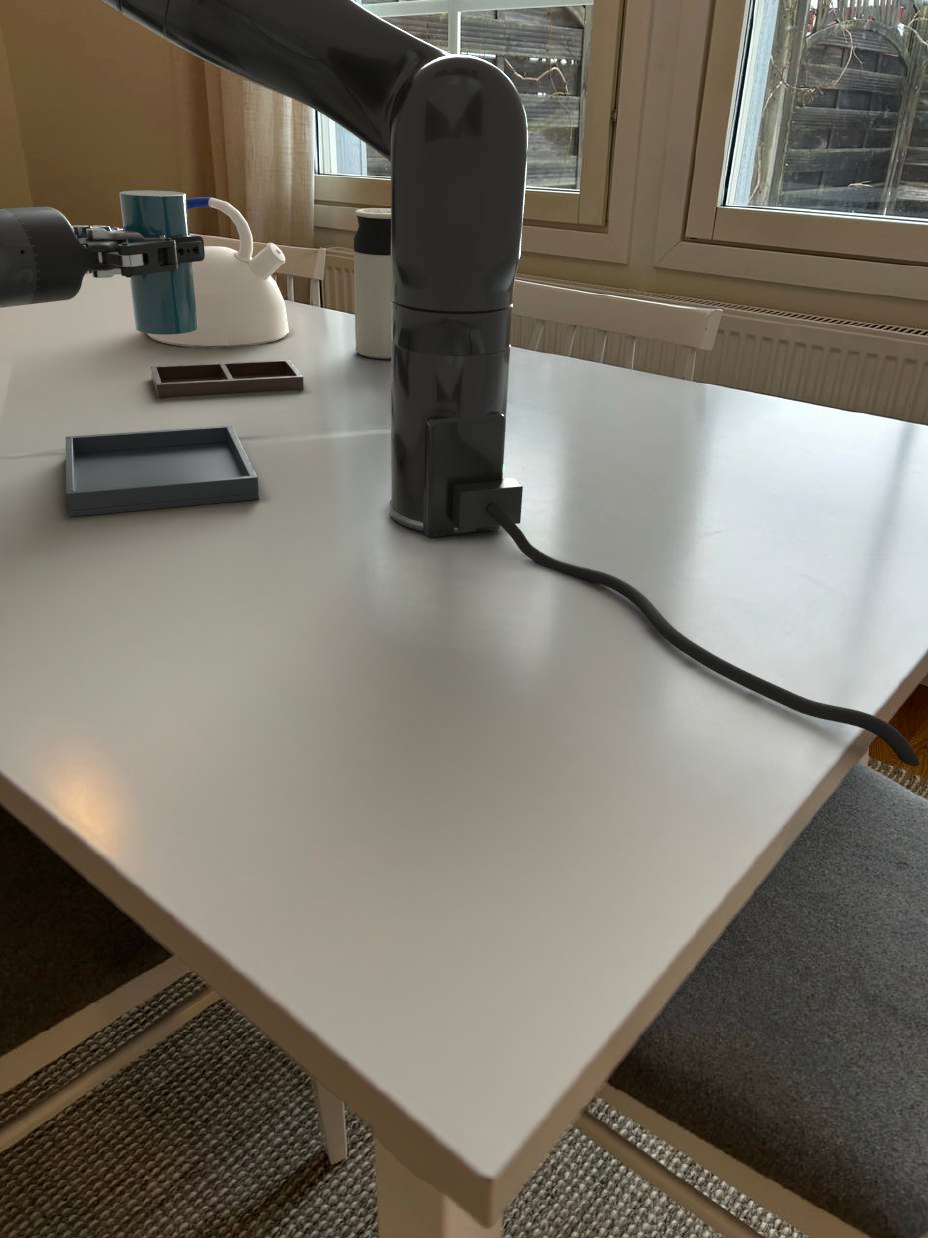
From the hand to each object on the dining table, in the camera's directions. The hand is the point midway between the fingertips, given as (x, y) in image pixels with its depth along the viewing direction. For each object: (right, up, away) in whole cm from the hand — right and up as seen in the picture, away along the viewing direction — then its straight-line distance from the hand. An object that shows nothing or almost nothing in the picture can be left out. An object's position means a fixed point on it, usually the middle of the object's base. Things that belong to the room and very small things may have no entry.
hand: (180, 243), depth 90 cm
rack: (-1, -8, +22) cm, 24 cm away
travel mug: (+16, +1, +40) cm, 43 cm away
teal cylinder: (-2, -7, +2) cm, 8 cm away
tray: (0, -23, -5) cm, 23 cm away
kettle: (-9, +6, +48) cm, 49 cm away
